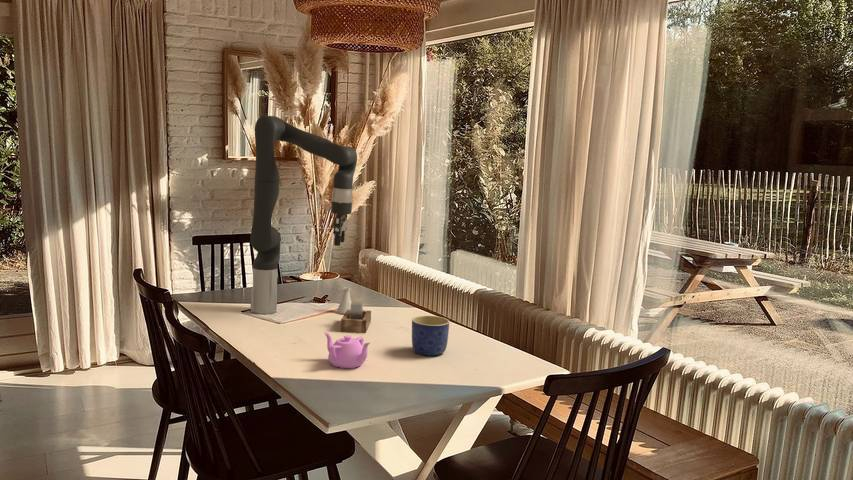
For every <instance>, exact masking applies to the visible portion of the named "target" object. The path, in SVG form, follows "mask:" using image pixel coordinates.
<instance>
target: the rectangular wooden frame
mask: <svg viewBox="0 0 853 480" xmlns="http://www.w3.org/2000/svg"><path fill="white" fill-rule="evenodd" d="M371 323H372V310H365V309H363V317H362V320H359V319H350V310H347V311H346V313H345V314H343V316H342V317H341V318H340V332H341V333H353V332H355V333H356V334H366V333H367V332H368V329H369V327H370V325H371Z"/></svg>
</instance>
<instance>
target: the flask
mask: <svg viewBox="0 0 853 480" xmlns="http://www.w3.org/2000/svg"><path fill="white" fill-rule="evenodd" d="M351 290H352V288H351V287H349V286H347V287H346V286H344V287H342V298H341V300H340V303H339V305H338V307H337V309H336V310H337V311H336V313H337V314H340V315H344V314H345V313H346V311H347V310H351V303H352V302H353V301H352V299H351Z"/></svg>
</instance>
